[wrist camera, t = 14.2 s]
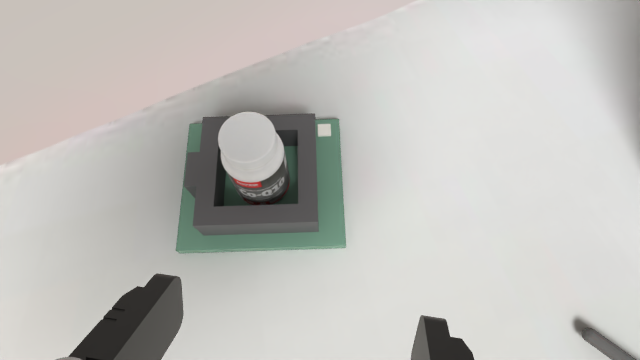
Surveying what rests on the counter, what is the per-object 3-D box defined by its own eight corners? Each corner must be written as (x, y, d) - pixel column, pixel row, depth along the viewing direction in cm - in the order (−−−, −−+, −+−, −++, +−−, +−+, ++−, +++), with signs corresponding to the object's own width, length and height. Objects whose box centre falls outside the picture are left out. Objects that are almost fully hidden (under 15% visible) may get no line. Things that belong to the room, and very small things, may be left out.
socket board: (338, 124, 38) (339, 100, 34) (345, 247, 34) (347, 236, 30) (193, 129, 38) (178, 106, 34) (180, 253, 34) (161, 242, 30)
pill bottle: (244, 215, 34) (220, 177, 26) (231, 167, 35) (204, 118, 28) (297, 198, 34) (289, 155, 26) (281, 151, 36) (269, 99, 28)
